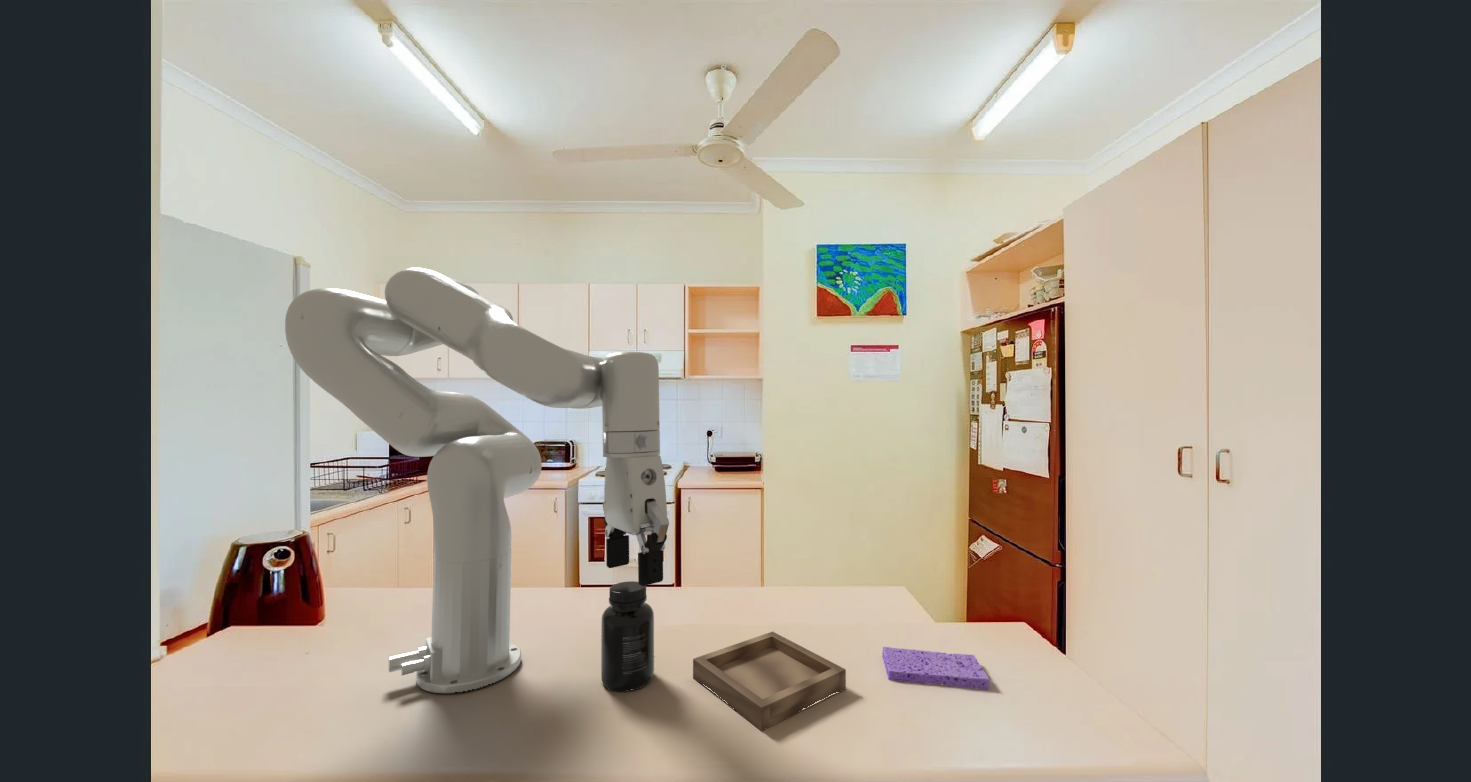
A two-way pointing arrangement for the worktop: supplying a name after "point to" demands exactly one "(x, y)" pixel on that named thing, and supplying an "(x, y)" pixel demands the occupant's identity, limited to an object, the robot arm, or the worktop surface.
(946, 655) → the sponges
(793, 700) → the walnut tray
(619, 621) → the supplement bottle
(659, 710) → the worktop surface
